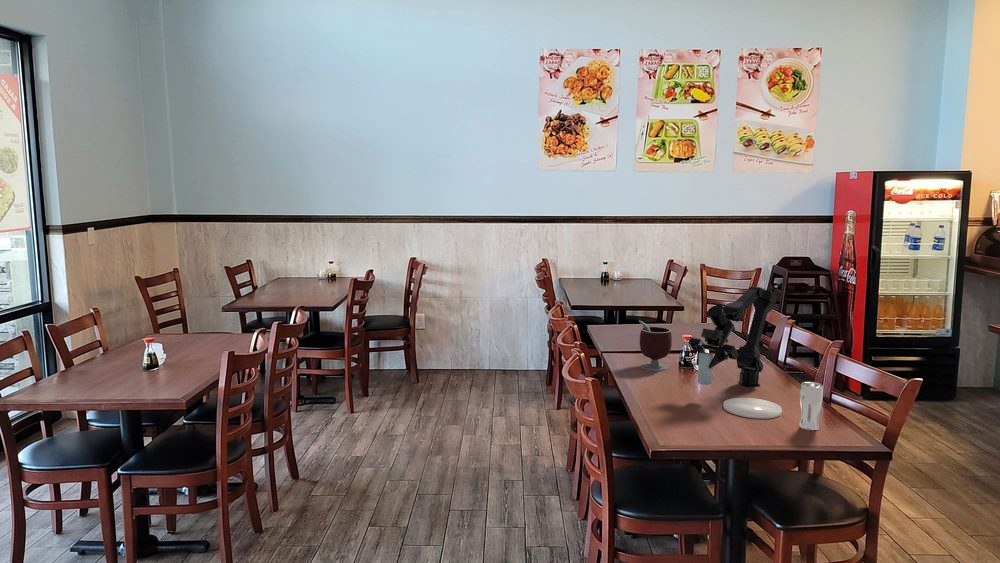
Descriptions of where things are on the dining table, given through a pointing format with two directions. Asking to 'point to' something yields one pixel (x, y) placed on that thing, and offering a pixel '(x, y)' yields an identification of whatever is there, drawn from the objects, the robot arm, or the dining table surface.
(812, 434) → the dining table surface
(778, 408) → the plate
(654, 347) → the mate gourd
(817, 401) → the beer glass
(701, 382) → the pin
